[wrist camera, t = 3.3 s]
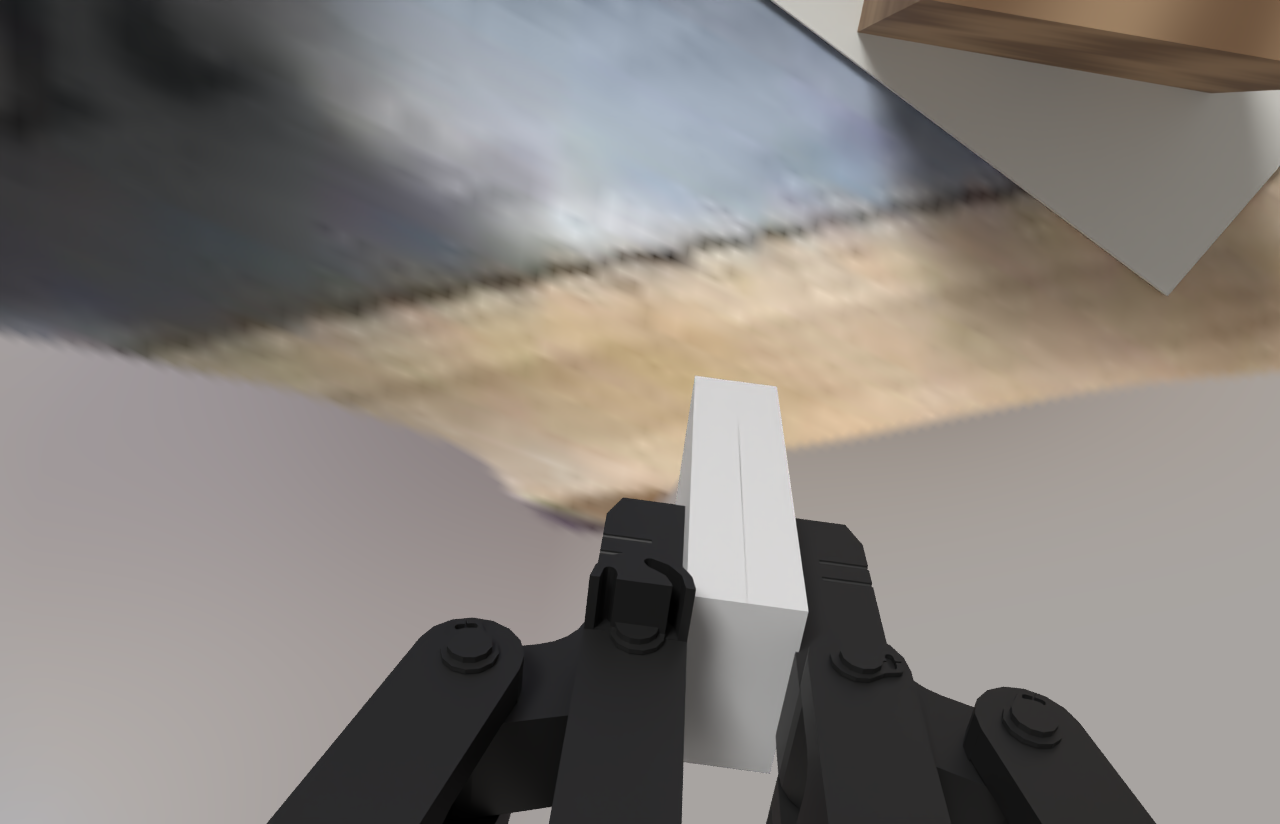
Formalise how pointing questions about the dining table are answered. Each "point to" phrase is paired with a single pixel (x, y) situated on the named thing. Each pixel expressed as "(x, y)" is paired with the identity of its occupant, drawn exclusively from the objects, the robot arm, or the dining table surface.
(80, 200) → the dining table surface
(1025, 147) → the felt mat
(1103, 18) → the walnut board
